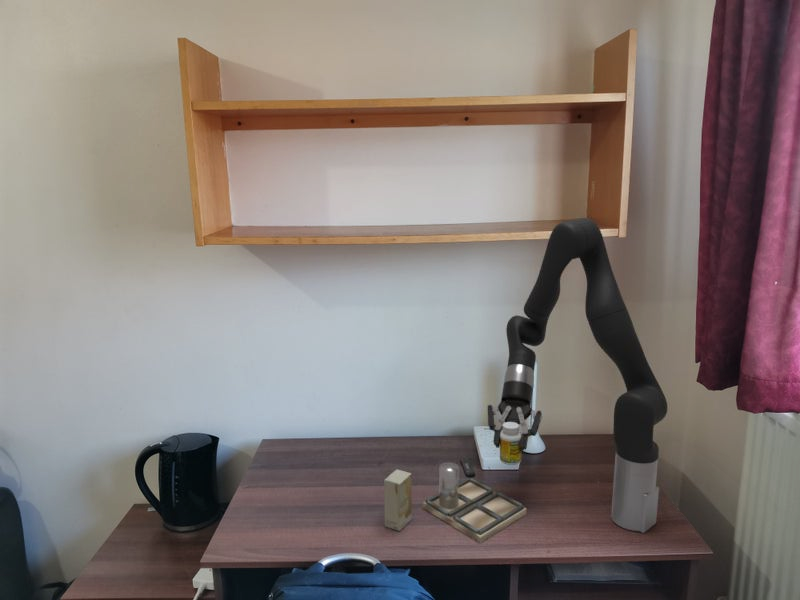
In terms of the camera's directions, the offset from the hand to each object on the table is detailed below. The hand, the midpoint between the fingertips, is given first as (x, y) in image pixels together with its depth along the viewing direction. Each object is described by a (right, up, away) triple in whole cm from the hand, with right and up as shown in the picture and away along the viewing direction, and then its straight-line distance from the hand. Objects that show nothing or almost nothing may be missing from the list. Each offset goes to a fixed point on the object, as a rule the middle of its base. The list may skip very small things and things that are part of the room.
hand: (509, 448), depth 144 cm
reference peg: (-15, -14, +2) cm, 21 cm away
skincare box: (-27, -17, -2) cm, 32 cm away
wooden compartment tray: (-8, -16, +2) cm, 18 cm away
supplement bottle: (+1, -4, +3) cm, 5 cm away
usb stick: (-8, -12, +22) cm, 27 cm away
